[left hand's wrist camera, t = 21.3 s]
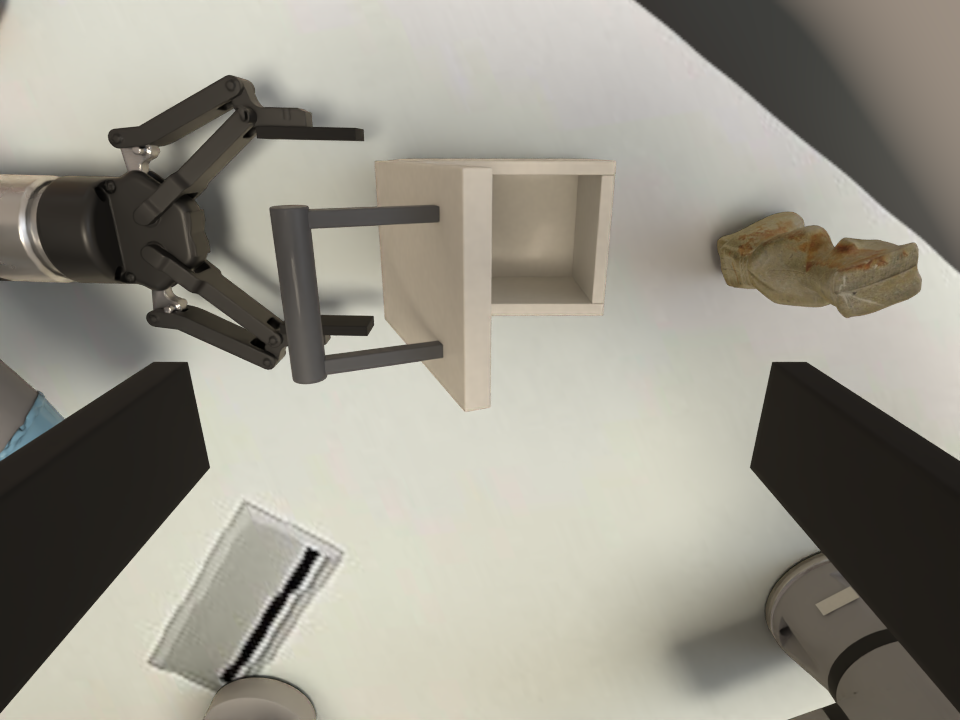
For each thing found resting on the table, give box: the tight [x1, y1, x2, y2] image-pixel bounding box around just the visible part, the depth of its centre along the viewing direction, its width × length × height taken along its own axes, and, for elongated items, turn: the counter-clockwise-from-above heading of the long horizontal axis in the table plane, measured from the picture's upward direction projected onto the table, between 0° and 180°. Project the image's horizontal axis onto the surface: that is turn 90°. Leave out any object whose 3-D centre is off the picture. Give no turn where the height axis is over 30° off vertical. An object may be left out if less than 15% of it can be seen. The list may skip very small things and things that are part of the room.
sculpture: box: [717, 212, 922, 318], centre depth 38 cm, size 6×7×15 cm
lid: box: [270, 161, 492, 412], centre depth 28 cm, size 15×10×8 cm
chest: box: [388, 159, 616, 316], centre depth 40 cm, size 15×10×10 cm
